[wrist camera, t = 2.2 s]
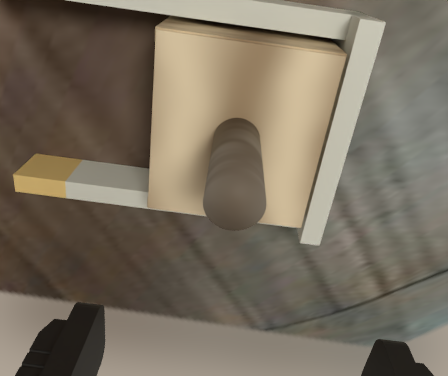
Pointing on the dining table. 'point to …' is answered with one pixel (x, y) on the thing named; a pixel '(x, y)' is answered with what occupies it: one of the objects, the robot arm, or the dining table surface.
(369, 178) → the dining table surface
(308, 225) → the frame
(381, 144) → the dining table surface
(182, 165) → the box with grey peg
